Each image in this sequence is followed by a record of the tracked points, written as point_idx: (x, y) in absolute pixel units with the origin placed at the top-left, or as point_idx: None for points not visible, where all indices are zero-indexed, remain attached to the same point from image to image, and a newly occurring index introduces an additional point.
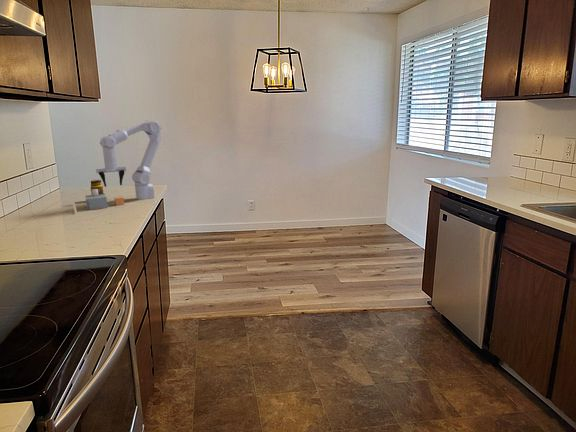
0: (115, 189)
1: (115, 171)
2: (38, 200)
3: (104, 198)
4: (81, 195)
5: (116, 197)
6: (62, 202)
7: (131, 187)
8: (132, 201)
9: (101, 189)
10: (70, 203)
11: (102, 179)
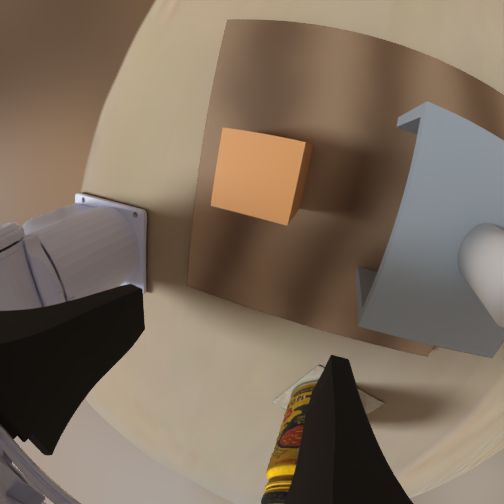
0: (190, 467)
1: (36, 470)
2: (417, 494)
3: (441, 111)
4: None
5: (278, 187)
6: (412, 462)
7: (147, 448)
8: (165, 261)
9: (291, 445)
10: (413, 441)
11: (385, 462)
